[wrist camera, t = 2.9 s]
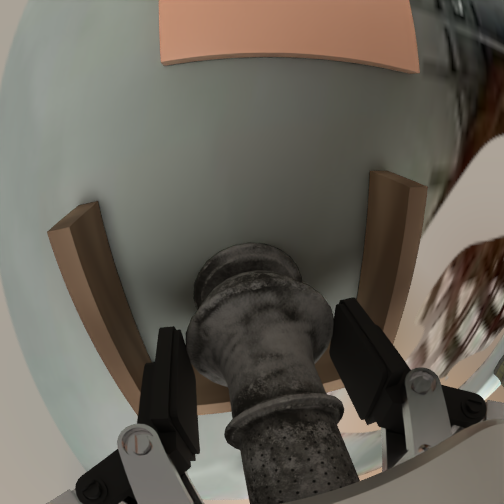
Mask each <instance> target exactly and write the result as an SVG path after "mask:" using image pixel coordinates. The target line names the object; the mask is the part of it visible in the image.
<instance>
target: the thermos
mask: <svg viewBox="0 0 504 504" xmlns="http://www.w3.org/2000/svg"><path fill="white" fill-rule="evenodd" d="M494 374H495V375H496V376H497V377H498V378H499V380H500V382H501V384H502V386H503V387H504V356H503V357H502V359H501V360H500V361H499V363H498V365H497V366H496V368H495V370H494Z"/></svg>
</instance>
